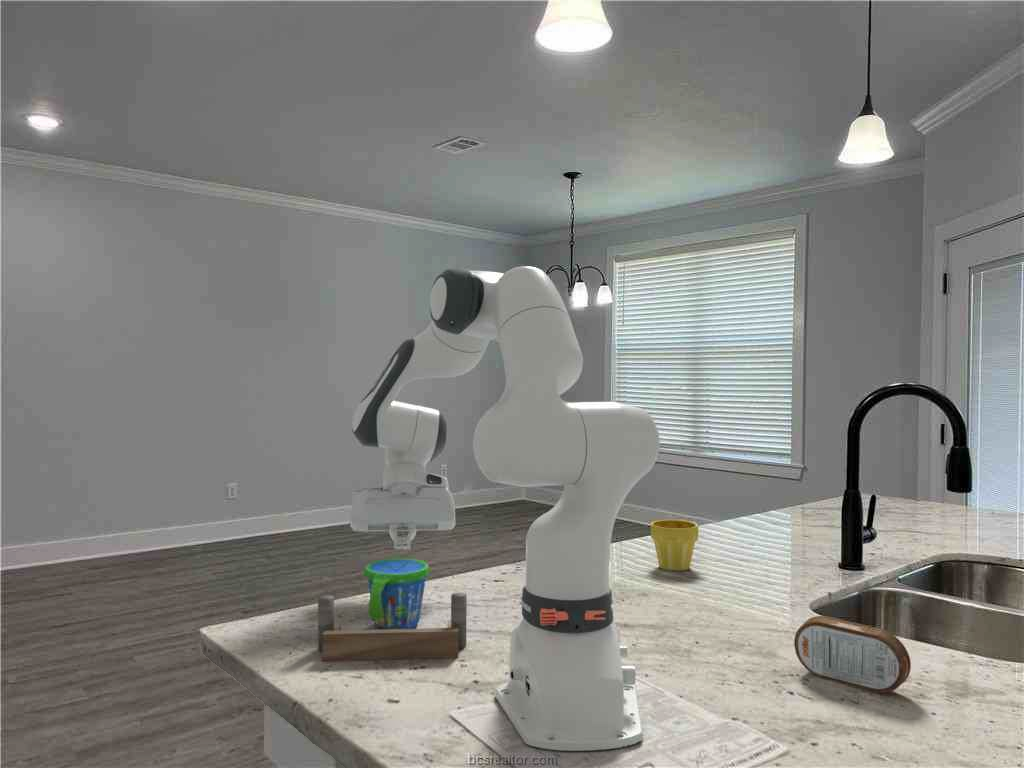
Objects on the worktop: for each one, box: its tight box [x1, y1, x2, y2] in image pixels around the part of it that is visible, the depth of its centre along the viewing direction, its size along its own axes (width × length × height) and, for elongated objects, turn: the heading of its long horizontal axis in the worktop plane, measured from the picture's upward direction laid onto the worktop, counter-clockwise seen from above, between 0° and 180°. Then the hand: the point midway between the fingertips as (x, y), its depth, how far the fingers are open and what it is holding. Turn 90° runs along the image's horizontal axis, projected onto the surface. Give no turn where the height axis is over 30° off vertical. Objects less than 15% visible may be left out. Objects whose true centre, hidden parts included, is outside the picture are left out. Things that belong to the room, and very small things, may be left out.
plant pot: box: [650, 519, 699, 572], centre depth 170 cm, size 10×10×10 cm
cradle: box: [317, 592, 468, 662], centre depth 119 cm, size 10×23×8 cm, turn 95°
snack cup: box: [364, 557, 430, 630], centre depth 129 cm, size 16×10×10 cm
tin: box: [793, 615, 912, 694], centre depth 106 cm, size 15×3×8 cm, turn 48°
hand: (402, 547), depth 144 cm, fingers closed
